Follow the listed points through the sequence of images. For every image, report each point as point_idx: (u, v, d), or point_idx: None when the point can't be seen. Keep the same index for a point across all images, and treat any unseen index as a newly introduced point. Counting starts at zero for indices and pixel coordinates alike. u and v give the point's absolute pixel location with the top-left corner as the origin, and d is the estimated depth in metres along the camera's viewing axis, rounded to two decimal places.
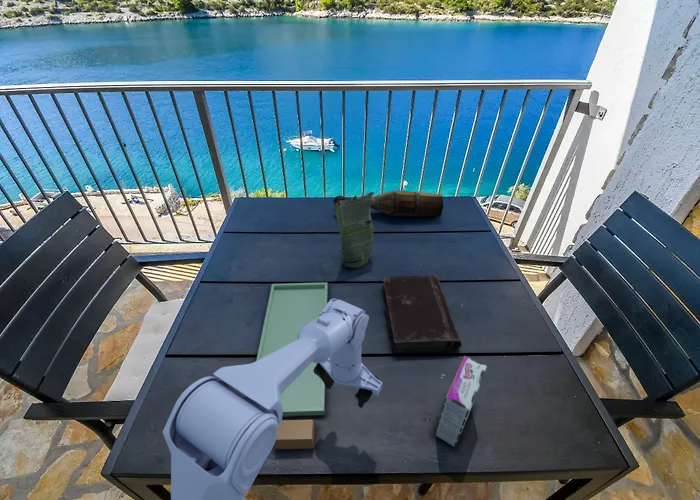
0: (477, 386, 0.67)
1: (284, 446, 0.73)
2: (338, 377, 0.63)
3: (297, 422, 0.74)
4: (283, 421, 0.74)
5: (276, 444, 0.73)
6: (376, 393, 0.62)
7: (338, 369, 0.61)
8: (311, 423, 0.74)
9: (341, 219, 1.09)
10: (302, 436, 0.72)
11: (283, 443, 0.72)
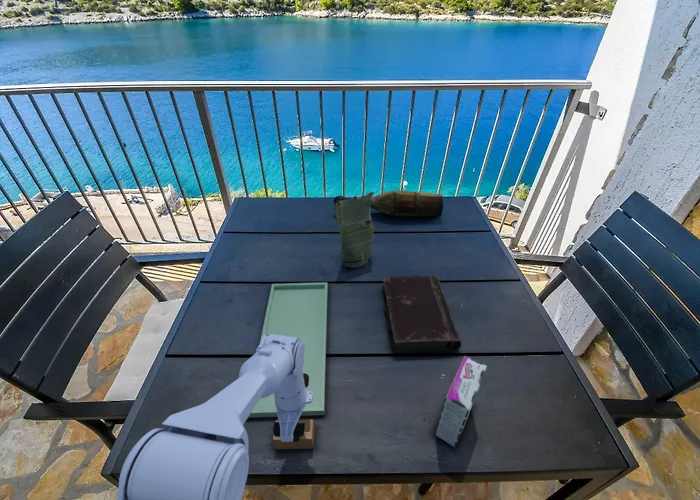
0: (477, 386, 0.67)
1: (284, 446, 0.73)
2: None
3: (297, 422, 0.74)
4: None
5: (276, 444, 0.73)
6: None
7: None
8: (311, 423, 0.74)
9: (341, 219, 1.09)
10: (302, 436, 0.72)
11: (283, 443, 0.72)
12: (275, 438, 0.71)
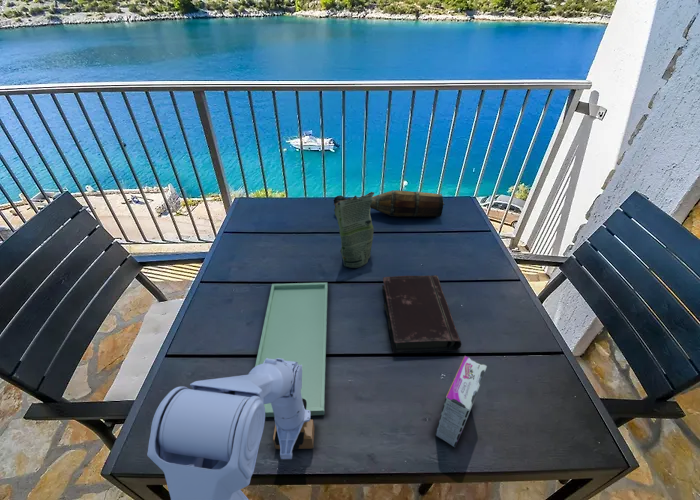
0: (477, 386, 0.67)
1: None
2: None
3: None
4: None
5: None
6: (280, 456, 0.64)
7: None
8: (311, 423, 0.74)
9: (341, 219, 1.09)
10: None
11: None
12: None
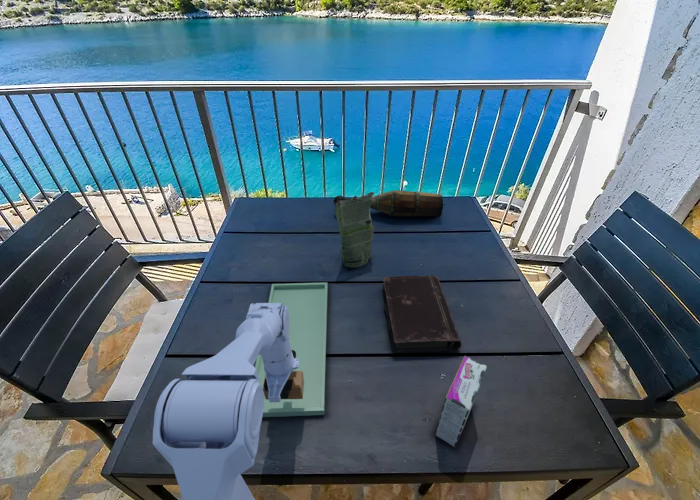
0: (477, 386, 0.67)
1: None
2: None
3: None
4: None
5: (266, 394, 0.74)
6: (269, 399, 0.65)
7: None
8: (300, 374, 0.75)
9: (341, 219, 1.09)
10: None
11: None
12: None
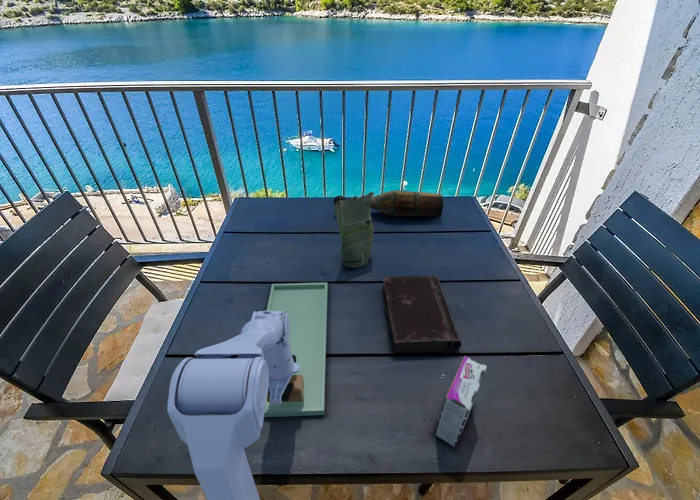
0: (477, 386, 0.67)
1: None
2: None
3: None
4: None
5: (267, 396, 0.78)
6: None
7: None
8: (300, 377, 0.79)
9: (341, 219, 1.09)
10: None
11: None
12: None
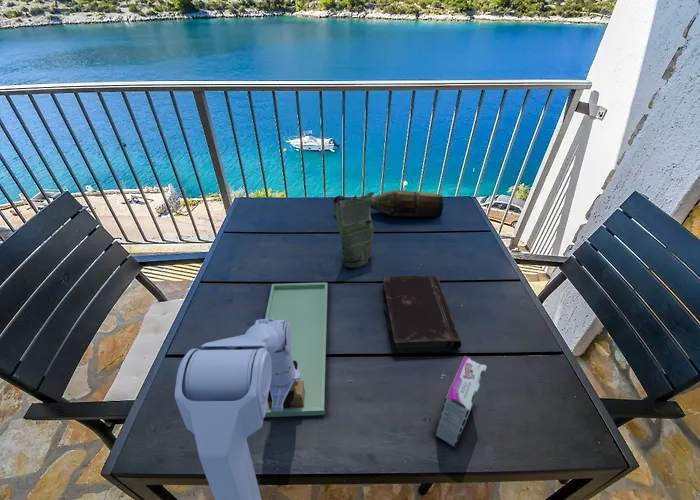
0: (477, 386, 0.67)
1: None
2: None
3: None
4: None
5: (269, 402, 0.79)
6: (272, 408, 0.71)
7: None
8: (301, 384, 0.80)
9: (341, 219, 1.09)
10: None
11: None
12: None
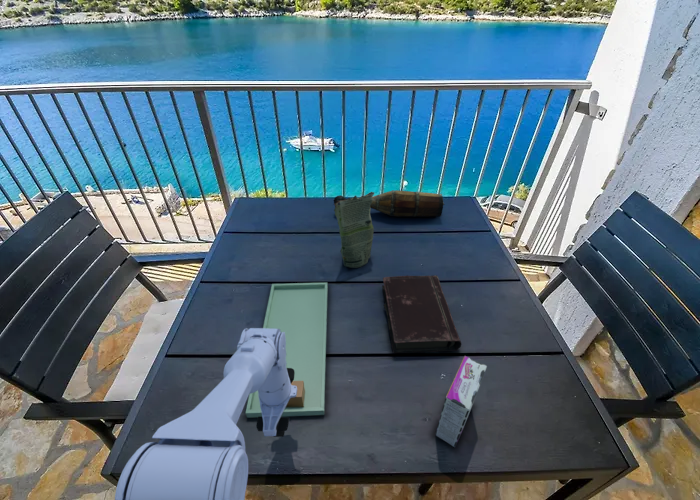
0: (477, 386, 0.67)
1: None
2: None
3: None
4: None
5: None
6: (263, 432, 0.60)
7: None
8: (301, 384, 0.80)
9: (341, 219, 1.09)
10: None
11: None
12: None
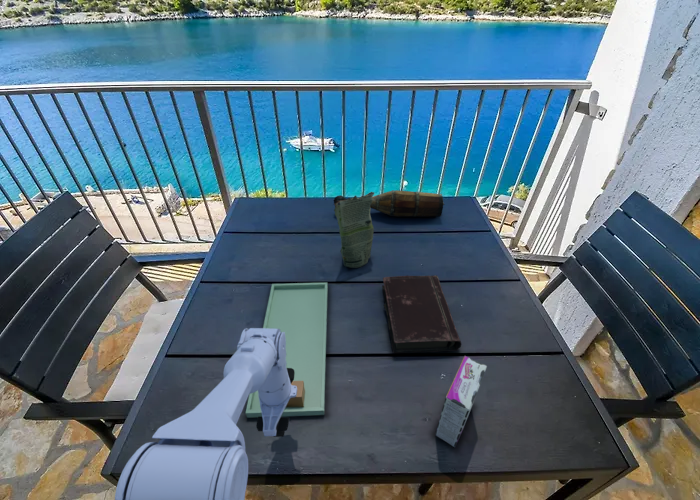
0: (477, 386, 0.67)
1: None
2: None
3: None
4: None
5: None
6: (263, 432, 0.60)
7: None
8: (301, 384, 0.80)
9: (341, 219, 1.09)
10: None
11: None
12: None
